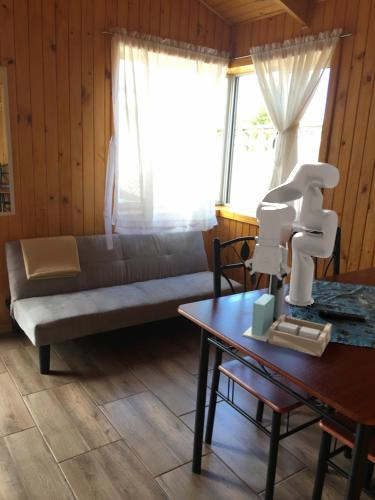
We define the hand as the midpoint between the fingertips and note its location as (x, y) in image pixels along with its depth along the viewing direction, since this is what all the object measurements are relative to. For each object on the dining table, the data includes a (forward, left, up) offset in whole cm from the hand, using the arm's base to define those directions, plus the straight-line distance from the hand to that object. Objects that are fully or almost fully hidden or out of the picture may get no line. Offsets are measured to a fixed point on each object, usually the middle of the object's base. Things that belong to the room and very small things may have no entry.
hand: (266, 286), depth 152 cm
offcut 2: (+5, +18, -18) cm, 26 cm away
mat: (+1, 0, -17) cm, 17 cm away
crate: (+2, +14, -17) cm, 23 cm away
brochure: (-15, -1, -18) cm, 23 cm away
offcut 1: (+5, +11, -18) cm, 21 cm away
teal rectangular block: (0, 0, -17) cm, 17 cm away
